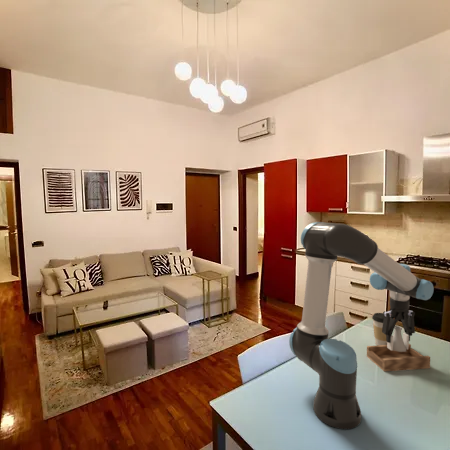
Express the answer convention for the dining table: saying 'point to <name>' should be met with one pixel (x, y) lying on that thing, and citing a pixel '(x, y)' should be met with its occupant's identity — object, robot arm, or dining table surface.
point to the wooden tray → (397, 358)
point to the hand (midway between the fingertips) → (397, 348)
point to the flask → (398, 340)
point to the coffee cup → (379, 329)
